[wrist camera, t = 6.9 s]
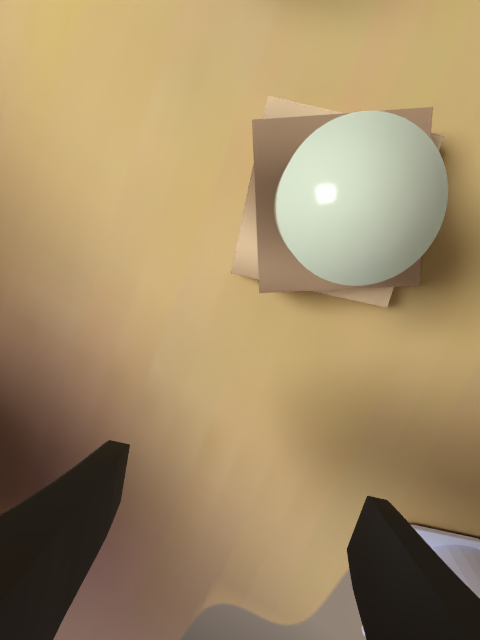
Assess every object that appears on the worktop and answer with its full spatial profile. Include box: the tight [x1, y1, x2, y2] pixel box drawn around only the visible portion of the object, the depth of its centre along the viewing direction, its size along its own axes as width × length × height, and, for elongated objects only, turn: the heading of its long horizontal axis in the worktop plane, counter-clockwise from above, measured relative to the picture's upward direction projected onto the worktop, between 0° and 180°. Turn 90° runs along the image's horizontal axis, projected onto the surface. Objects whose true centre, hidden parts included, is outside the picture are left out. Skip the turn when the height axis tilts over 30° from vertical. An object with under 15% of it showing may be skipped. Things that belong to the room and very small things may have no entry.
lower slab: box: [231, 96, 444, 308], centre depth 18 cm, size 8×8×2 cm
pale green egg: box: [273, 111, 448, 286], centre depth 13 cm, size 5×5×4 cm
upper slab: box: [252, 107, 433, 293], centre depth 16 cm, size 7×7×2 cm
